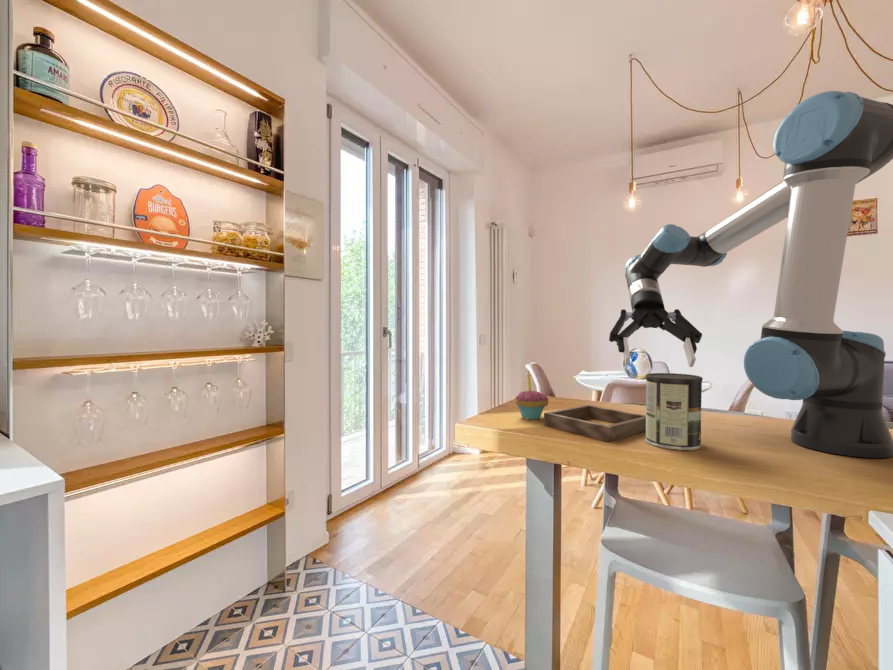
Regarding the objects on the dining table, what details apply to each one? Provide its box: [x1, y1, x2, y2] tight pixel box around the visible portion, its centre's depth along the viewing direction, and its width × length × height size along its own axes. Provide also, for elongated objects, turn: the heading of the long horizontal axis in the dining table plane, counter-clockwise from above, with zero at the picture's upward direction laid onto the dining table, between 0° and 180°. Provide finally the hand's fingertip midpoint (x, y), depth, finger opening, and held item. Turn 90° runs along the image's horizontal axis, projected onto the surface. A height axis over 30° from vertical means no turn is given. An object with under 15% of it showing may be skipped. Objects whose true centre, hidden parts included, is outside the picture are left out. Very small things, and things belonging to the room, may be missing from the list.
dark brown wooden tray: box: [543, 404, 646, 443], centre depth 99 cm, size 17×17×3 cm
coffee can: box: [645, 372, 703, 451], centre depth 86 cm, size 10×10×14 cm
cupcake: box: [514, 370, 550, 420], centre depth 109 cm, size 9×8×12 cm
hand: (659, 362), depth 95 cm, fingers open, 13 cm apart
